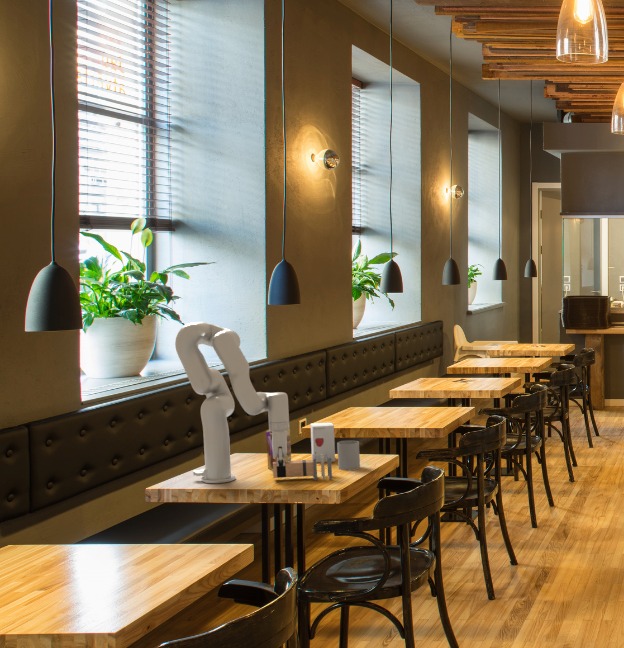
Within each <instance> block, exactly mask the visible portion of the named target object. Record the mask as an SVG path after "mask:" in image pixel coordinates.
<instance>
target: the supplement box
mask: <svg viewBox="0 0 624 648" xmlns="http://www.w3.org/2000/svg"><path fill="white" fill-rule="evenodd" d="M335 442H336V441H335V426H334V424H333V423H332V422H316V423H314V422H313V423H310V443H311V444H310V445H311V446H310V447H311V449H310V450H311V455H312V454H315V456H316V462H317V463H321V454H323V457H324V463H327V454H330V456H331V463H332V462H336V450H335V449H336V447H335V444H336V443H335ZM311 460H313V457H312V456H311Z"/></svg>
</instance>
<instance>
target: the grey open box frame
mask: <svg viewBox="0 0 624 648" xmlns="http://www.w3.org/2000/svg"><path fill="white" fill-rule="evenodd" d="M312 457H313V465H314V476H312V477H313V481H314V482H317V481H318V467H317V468H316V456H315V454H312V453H311V458H312ZM326 464H327V477H328V479H329V481H332V480H333V471H332V469H333V468H332V467H333V466H332V462H331V456H330V454H327V462H326ZM320 469H321V471H320V472H321V473H320V474H321V477H322V481H323V482H324V481H326V475H325V474H326V473H325V472H326V471H325V462H324V457H323V454H321V462H320Z"/></svg>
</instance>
